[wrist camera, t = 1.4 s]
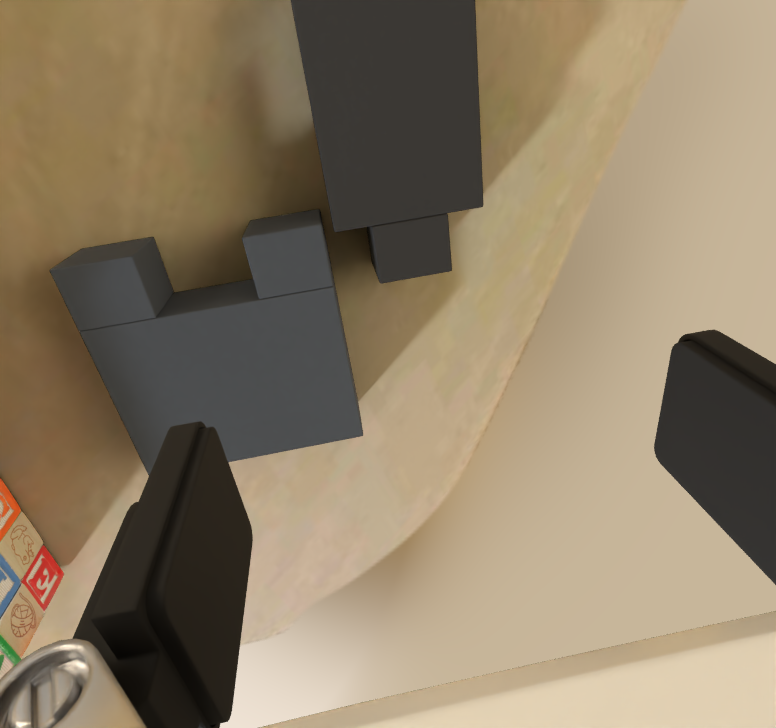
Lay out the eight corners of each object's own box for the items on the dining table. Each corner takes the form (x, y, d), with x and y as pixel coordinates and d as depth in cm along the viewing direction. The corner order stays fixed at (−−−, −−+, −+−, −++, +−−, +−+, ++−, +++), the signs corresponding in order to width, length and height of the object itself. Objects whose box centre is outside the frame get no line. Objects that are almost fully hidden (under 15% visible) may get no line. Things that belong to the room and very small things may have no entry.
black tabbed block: (286, -25, 21) (282, -46, 18) (449, -48, 21) (472, -73, 18) (341, 268, 27) (345, 290, 24) (466, 246, 27) (486, 265, 24)
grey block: (80, 248, 25) (48, 269, 22) (319, 208, 25) (321, 223, 22) (165, 440, 31) (149, 478, 27) (358, 403, 31) (363, 436, 28)
